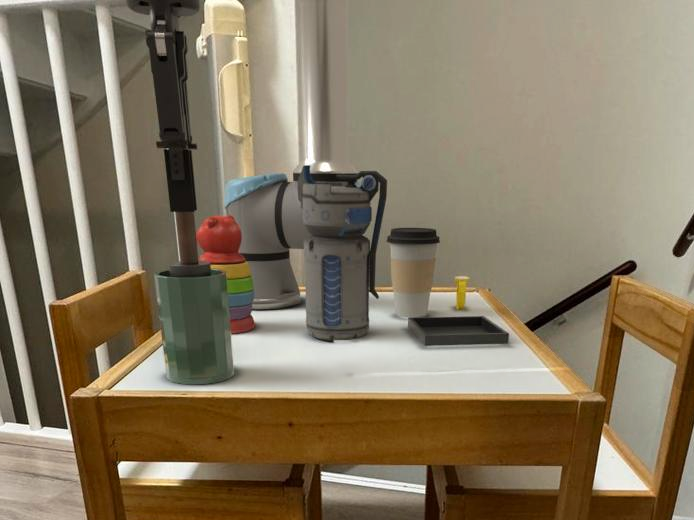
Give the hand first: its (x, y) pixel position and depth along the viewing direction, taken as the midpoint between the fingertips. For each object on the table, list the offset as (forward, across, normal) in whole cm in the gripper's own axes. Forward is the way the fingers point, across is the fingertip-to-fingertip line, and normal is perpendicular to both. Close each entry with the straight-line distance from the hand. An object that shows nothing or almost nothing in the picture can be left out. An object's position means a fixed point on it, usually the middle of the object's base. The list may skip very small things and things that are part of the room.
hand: (184, 210), depth 79 cm
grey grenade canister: (+20, -20, +21) cm, 36 cm away
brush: (+10, 0, 0) cm, 10 cm away
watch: (+20, -40, +46) cm, 64 cm away
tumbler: (+20, 0, 0) cm, 20 cm away
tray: (+20, -17, +39) cm, 47 cm away
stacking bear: (+20, -28, +2) cm, 35 cm away
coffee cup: (+20, -34, +35) cm, 53 cm away
